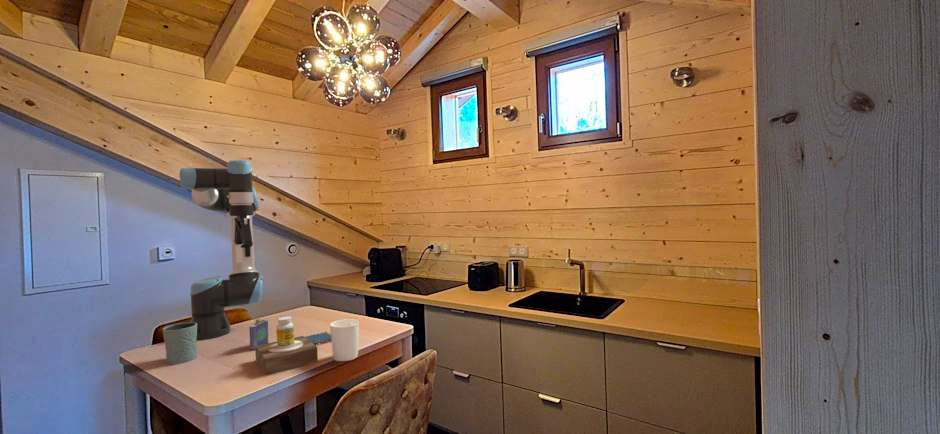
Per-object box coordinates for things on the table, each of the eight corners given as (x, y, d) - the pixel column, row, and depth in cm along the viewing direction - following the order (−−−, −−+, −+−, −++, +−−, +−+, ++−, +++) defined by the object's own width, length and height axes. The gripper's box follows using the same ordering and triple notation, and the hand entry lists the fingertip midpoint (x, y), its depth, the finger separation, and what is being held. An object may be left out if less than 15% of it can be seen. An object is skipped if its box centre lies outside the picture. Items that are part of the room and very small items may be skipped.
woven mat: (299, 342, 162) (299, 336, 162) (326, 335, 169) (326, 331, 169) (308, 348, 154) (308, 343, 154) (336, 342, 161) (335, 337, 161)
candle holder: (365, 352, 148) (364, 319, 147) (351, 363, 138) (350, 327, 138) (340, 351, 150) (339, 318, 149) (325, 361, 140) (323, 326, 140)
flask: (254, 350, 152) (253, 322, 152) (247, 350, 153) (246, 321, 152) (270, 342, 161) (269, 315, 161) (263, 342, 162) (262, 315, 161)
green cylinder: (173, 367, 139) (171, 331, 138) (158, 361, 143) (156, 327, 143) (205, 356, 147) (203, 323, 147) (189, 352, 152) (187, 320, 152)
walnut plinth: (255, 360, 143) (255, 345, 143) (303, 349, 153) (303, 335, 152) (266, 375, 130) (265, 358, 130) (317, 361, 140) (317, 346, 140)
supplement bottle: (286, 342, 145) (285, 315, 144) (297, 344, 143) (296, 316, 142) (273, 347, 140) (272, 319, 139) (285, 349, 138) (284, 320, 137)
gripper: (223, 205, 154) (226, 261, 155) (235, 204, 134) (238, 269, 135) (246, 204, 158) (249, 259, 159) (260, 204, 139) (263, 266, 140)
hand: (244, 264), depth 147 cm, fingers open, 13 cm apart
